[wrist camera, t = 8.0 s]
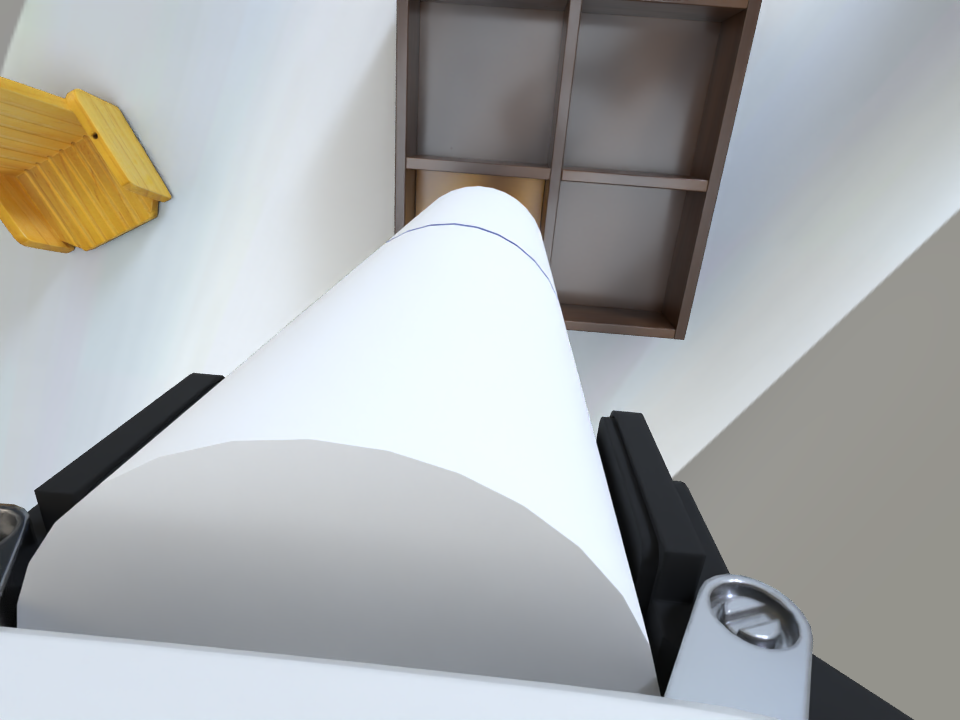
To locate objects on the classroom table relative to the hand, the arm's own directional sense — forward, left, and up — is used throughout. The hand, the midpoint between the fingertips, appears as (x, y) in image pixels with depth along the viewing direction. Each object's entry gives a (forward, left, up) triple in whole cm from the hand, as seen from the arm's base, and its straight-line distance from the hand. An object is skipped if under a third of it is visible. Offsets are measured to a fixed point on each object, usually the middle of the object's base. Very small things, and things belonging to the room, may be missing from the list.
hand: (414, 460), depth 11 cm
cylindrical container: (0, 0, -20) cm, 20 cm away
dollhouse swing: (+30, -1, -31) cm, 43 cm away
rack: (-4, -4, -31) cm, 32 cm away
